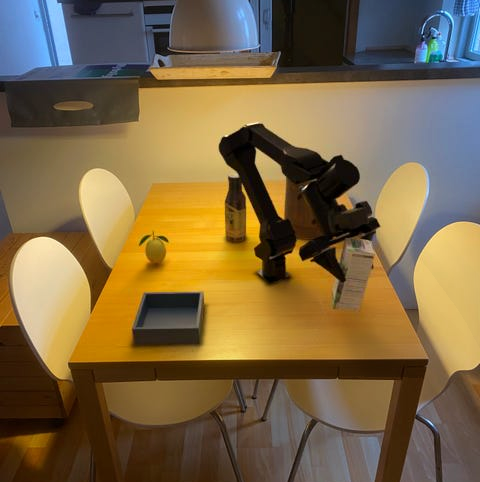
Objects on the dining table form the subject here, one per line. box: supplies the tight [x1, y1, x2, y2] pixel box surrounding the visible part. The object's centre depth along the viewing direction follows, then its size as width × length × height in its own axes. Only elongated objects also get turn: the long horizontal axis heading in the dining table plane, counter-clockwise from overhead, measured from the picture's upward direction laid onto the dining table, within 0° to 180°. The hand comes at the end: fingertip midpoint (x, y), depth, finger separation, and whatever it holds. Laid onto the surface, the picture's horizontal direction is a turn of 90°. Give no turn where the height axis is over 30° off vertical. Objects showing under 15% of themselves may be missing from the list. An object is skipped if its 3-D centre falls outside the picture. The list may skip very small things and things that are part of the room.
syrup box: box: [331, 238, 376, 313], centre depth 98 cm, size 6×6×14 cm
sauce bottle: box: [224, 172, 247, 243], centre depth 136 cm, size 7×6×20 cm
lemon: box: [138, 230, 170, 264], centre depth 127 cm, size 7×6×10 cm
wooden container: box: [283, 176, 322, 240], centre depth 140 cm, size 15×15×22 cm
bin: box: [131, 291, 205, 346], centre depth 105 cm, size 14×14×4 cm
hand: (358, 275), depth 97 cm, fingers closed on syrup box, 8 cm apart
